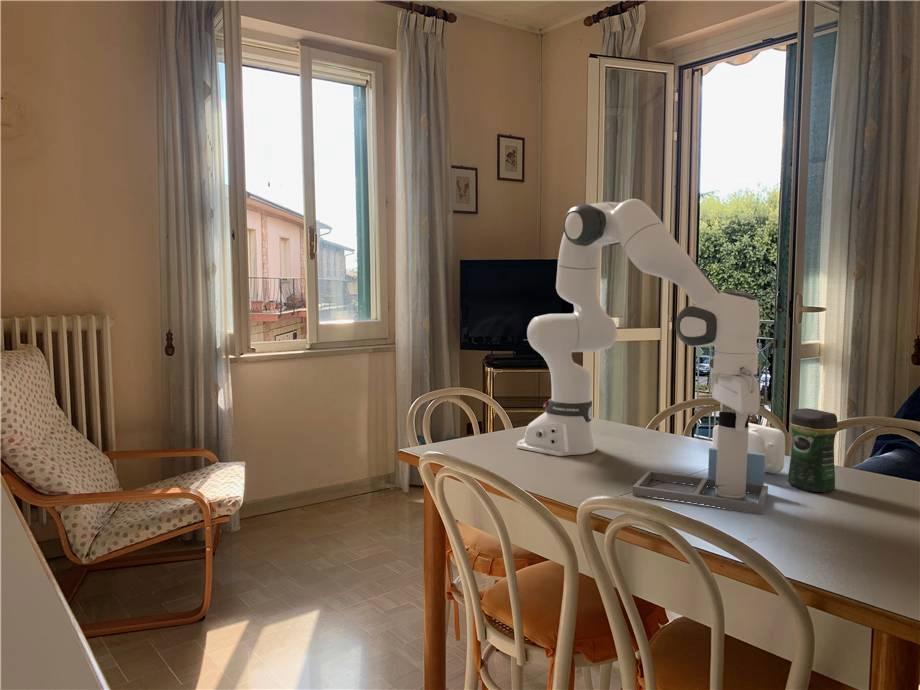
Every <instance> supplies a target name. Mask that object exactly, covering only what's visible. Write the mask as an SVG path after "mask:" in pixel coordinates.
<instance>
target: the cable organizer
mask: <svg viewBox="0 0 920 690" xmlns="http://www.w3.org/2000/svg"><path fill="white" fill-rule="evenodd" d="M748 423H749V429H748V430H749V432H748V452H751V453H760V454H765V468H764V471H766V472H765V473H767V472H769V473H768V474H771V473H773V474H775V473H778V472H779V473H780V472H782V470H784V466H785V448H786V447H785V445H786V435H785V433H784V432H783V431H782V430H781V429H778V428H775V427H770V426H765V425H761V424H756V423H751V422H748ZM718 427H719V426H718V424H717V425H715V426H713V428H712V445H711V446H712V447H711V448H715V449H717V443H718Z"/></svg>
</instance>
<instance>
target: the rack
mask: <svg viewBox="0 0 920 690" xmlns="http://www.w3.org/2000/svg"><path fill="white" fill-rule="evenodd" d="M716 465H717V449H715V448H712V447H710V448H709V449H708V469H707V471H708V474H707V477H704V476H703V477H702V476H695V475H689V474H688V475H686V474H679V473H671V472H664V471H657V470H649V469H648V470H647V471H646V472H645V473H644V474H643V475H642V476H641V477H640V478H639V479H638V480H637V482H635V484H634V485H633V486H632V496H635V495H639V496H638V497H642V496H650V497H657V498H664V499H670V500H678V501H684V502H691V503H697V504H704V505H709V506H715V507H714V508H716V507H720V508H719V509H722V508H725V509H724V510H729V509H732V510H731V511H736V510H738V511H737V512H742V511H745V512H744V513H749V512H750V514H757V515H762V514H763V512H764V508H765V504H766V501H767V499H766V498H768V493H769V485H765V472H764V468H765V454H760V453H751V452H747V472H746V492H749V493H748V494H751V493H756V494H755V495H758V494H760V495H759V496H758V497H759V498H758V500H757V502H754V501H748V500H747V501H740V500H733V499H726V498H719V497H715V496H712V495H704V493H705V492H706V490H707V488H706V487H707V486H708V487H716ZM651 479H654V480H653V481H656V480H662V481H661V482H664V481H669V482H668V483H671V482H676V483H675V484H678V483H685V484H693V485H698V486H696V488H695V490H694V491H693V493H690V492H683V491H676V490H670V489H669V490H668V489H661V488H657V487H655V488H654V487H647V485H648V484H649V483H650V482H651V481H652V480H651ZM650 480H651V481H650ZM649 481H650V482H649ZM648 482H649V483H648ZM647 483H648V484H647ZM646 484H647V485H646ZM685 484H684V485H685ZM693 485H692V486H693ZM705 489H706V490H705ZM704 491H705V492H704ZM703 492H704V493H703ZM702 494H703V495H702ZM709 506H708V507H709Z"/></svg>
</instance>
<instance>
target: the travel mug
mask: <svg viewBox="0 0 920 690" xmlns="http://www.w3.org/2000/svg"><path fill="white" fill-rule="evenodd" d="M736 417H737V416H736V412H732V411H731V412H721V411H719V413H718V424H717V425H718V426H719V427H718V443H717V465H716V487H715V488H714V489H715V491H714V497H719V498H726V499H733V500H740V501H745V500H746V493H745V492H746V472H747V452H748V432H749V430H748V429H749V423H750V422H749V421H750V415H748V418H747V421H746V423H745V430H744V432H738V431H736V430H735V429H734V422H736Z"/></svg>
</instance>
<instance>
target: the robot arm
mask: <svg viewBox="0 0 920 690" xmlns="http://www.w3.org/2000/svg"><path fill="white" fill-rule="evenodd" d="M563 231H564V232H563V235H562V238H561V242H560V246H559V250H558V258H557V268H556V269H557V271H556V282H555V289H556V292H557V295H558V296H559V297H560V298H561V299H563V300H564V301H566V302H568V303H570V304H572V305H573V312H571V313H547V314H542V315H538V316H534V317H533V318H532V319H531V320H530V322H529V324H528V325H527V328H526V329H527V330H526V337H527V341H528V343H529V345H530V347H531V348H532V349H533V350H534V351H536V352H537V353H538V354H540V355H541V357H543V359H544V361H545V362H546V364H547V367H548V369H549V373H550V380H551V398H549V399H548V400H547V401H545V402H544V403H543V408H544V409H545V412H543V413H542V414H540V415H539V416H537V417H536V418H535V419H534V420H532V421H531V422H529V423H528V425H527V426H526V429H525V432H524V433H525V434H524V438H522V439H520V440H518V441H517V442H516V448H517V449H520V450H525V451H532V452H536V453H541V454H547V455H553V456H557V457H564V456H565V457H566V456H571V455H574V456H575V455H586V454H590V453H593V452H595V451H596V445H595V442H594V436H593V430H592V420H593V401H592V400H591V398H592V397H591V394H592V392H591V391H592V376H591V373H590V372H589V371H588V369H587V368H586V367H583V366H582V365H580V364H578V363H576V362H574V360H573V357H572V356H573V354H572V353H592V352H593V353H594V352H599V351H600V352H601V351H603V350H607V349H610V348H612V346H613V345H614V344H615V342H616V340H617V336H618V329H617V325H616V323H615V321H614V319H613V318H612V317H611V316H610V315H609V314H607V312H605V311H604V309H603V307H602V306H601V304H600V301H599V297H598V273H599V260H600V259H599V257H600V251H601V249H602V248H603V247H604V246H608V245H610V246H614V245H618V244H620V245H621V247H622V249H623V251H624V252H625V254H626V255H627V257H628V259H629V260H630V261H631V262H632V263H633V265H634V266H635V267H636V268H637V269H638V270H639V271H641V272H642V273H645V274H647V275H650V276H655V277H658V278H662V279H664V280H667V281H669V282H672V283H673V284H675V285H677V287H679V288H681V289H682V291H684V292H685V294H686V295H687V296H688V298H689V299H690V300H691V302H692V304H693V305H690V306H686V307H684V308H682V310H680V312H679V313H678V314H677V317H676V320H675V331H676V334H677V337H678V339H679V340H680V341H681V342H682V343H683V344H685V345H686V346H690V347H695V348H700V347H701V348H703V347H714V355H713V357H711V358H709V360H708V367H709V369H711V371H710V391H711V397H712V399H713V400H715V401H717V402H718V403H719V405H720V406H719V407H720V412H732V410H733V411H735V413H736V416H737V417H736V422H734V429H735V430H736V431H738V432H744V430H745V423H746V421H747V418H748V415H749V416H755V415H758V413H759V412H760V406H761V405H760V398H761V397H760V384H759V383H760V382H759V380H758V379H757V378H756V377H755V375H757V374H758V363H759V361H758V360H759V348H758V344H757V340H758V337H759V335H760V307H759V306H760V305H759V301H758V299H757V297H756V296H755V295H754V294H752V293H750V292H747V291H743V290H742V291H741V290H735V289H725V290H722V291H720V290H719V288H717V286H716V285H715V284H714V283H713V281H712V280H711V279H710V278H709V276H708V275H707V274H706V273H705V272H704V271H703V270H702V268H701V267H700V266H699V265H698V264H697V263H696V261H695V260H693V258H692V257H691V256H690V255H689V254H688V253H687V252H686V250H684V249H683V247H681V246H680V244H679V243H678V242H677V240H676V239H675V238H674V236H672V233H670V231H669V230H668V228H667V227H666V226H665V224H664V223H663V221H662V219H660V218H659V216H658V215H657V214H656V213H655V212H654V211H653V209H652V208H651V207H650V206H649V205H648V204H647V203H645V202H644V201H643V200H641V199H639V198H629V199H626V200H624V201H620V202H615V201H601V202H595V203H594V202H593V203H589V204H587V203H581V204H579V205H576V206H573V207H571V208H569V210H568V211H567V212H566V214H565V217H564V220H563Z"/></svg>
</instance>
